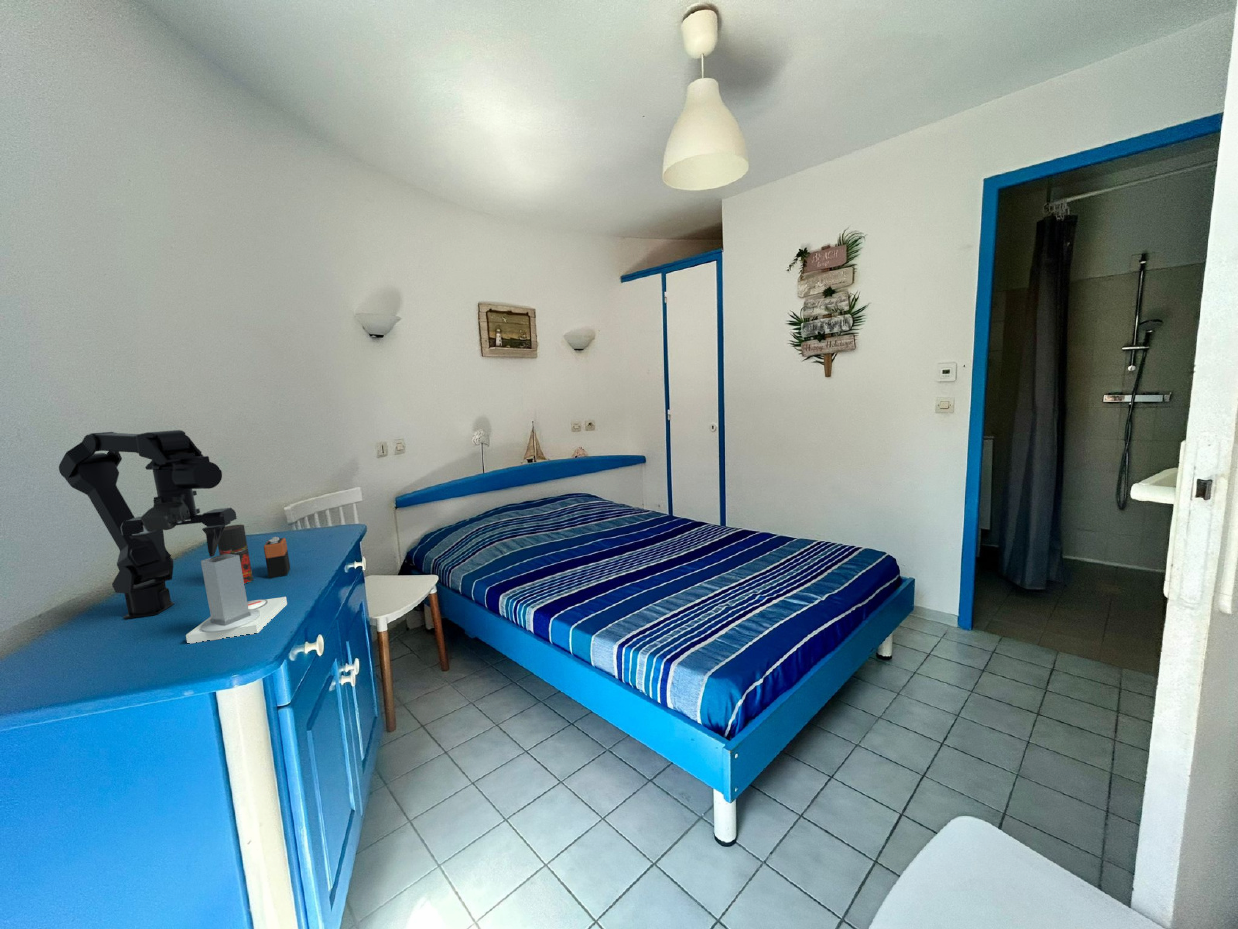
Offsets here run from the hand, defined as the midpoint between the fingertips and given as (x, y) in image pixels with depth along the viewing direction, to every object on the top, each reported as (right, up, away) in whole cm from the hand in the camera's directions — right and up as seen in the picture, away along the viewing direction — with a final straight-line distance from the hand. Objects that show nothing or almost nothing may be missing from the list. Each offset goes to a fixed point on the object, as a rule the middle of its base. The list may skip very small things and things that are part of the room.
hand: (187, 559), depth 109 cm
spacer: (+15, -11, -7) cm, 20 cm away
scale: (+14, -13, -4) cm, 20 cm away
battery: (+1, -9, +28) cm, 29 cm away
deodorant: (-5, -11, +22) cm, 25 cm away
